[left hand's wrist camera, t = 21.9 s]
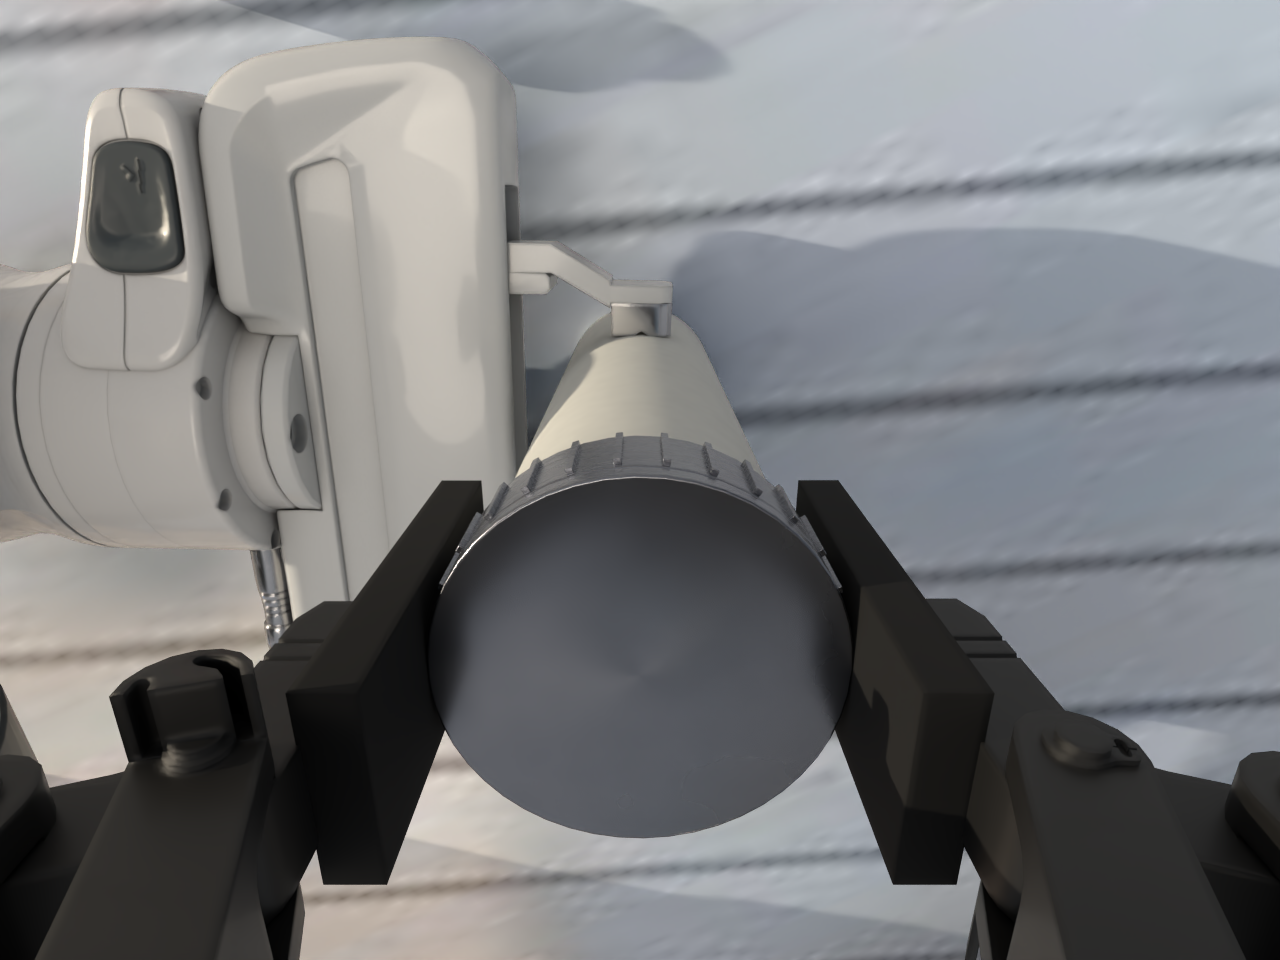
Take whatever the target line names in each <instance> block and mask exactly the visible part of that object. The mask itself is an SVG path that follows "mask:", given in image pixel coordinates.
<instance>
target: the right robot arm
mask: <svg viewBox="0 0 1280 960" xmlns="http://www.w3.org/2000/svg"><path fill="white" fill-rule="evenodd" d="M558 278H560V279H562V280H563V281H565V282H567V283H569V284H570V285H572V286H574V287H575V288H577V289H579V290H580V291H582V292H584V293H585V294H587V295H589V296H591V297H592V298H594V299H596V300H597V301H599V302H601V303H602V304H604V305H606V306H607V307H609V308H610V306H611V336H635V335H637V334H638V333H640V332H641V331H642V332H643V333H645V334H646V335H647V336H655V337H666V336H670V335H671V318H672V295H673V284H672V282H667V281H658V280H613V275H612V274H610V273H608V272H607V271H605V270H603V269H602V268H600V267H599V266H597V265H595V264H594V263H592V262H591V261H589V260H587V259H586V258H584V257H583V256H581V255H579V254H578V253H576V252H575V251H573V250H571V249H570V248H568V247H567V246H565V245H563V244H562V243H560V242H558V241H538V240H521V230H520V200H519V170H518V141H517V112H516V95H515V91H514V88H513V86H512V84H511V83H510V82H509V80H508V79H507V78H506V77H505V75H504V74H503V73H502V72H501V70H500V69H499V68H498V67H497V66H496V65H495V64H494V63H493V62H492V61H491V60H490V59H489V58H488V57H487V56H486V55H485V54H484V53H482V52H481V51H480V50H479V49H477V48H476V47H475V46H473V45H471V44H469V43H467V42H465V41H462V40H458V39H455V38H446V37H392V38H376V39H361V40H351V41H341V42H332V43H324V44H317V45H310V46H303V47H297V48H291V49H285V50H279V51H275V52H271V53H266V54H262V55H259V56H256V57H253V58H250V59H248V60H246V61H244V62H241V63H239V64H237V65H236V66H234V67H233V68H231V69H230V70H228V71H227V72H226V73H224V74H223V75H222V76H221V77H220V78H219V79H218V80H217V81H216V83H215V84H214V85H213V87H212V88H211V89H210V91H209V93H208V95H207V96H206V95H202V94H197V93H192V92H186V91H178V90H169V89H157V88H116V89H109V90H106V91H103V92H101V93H100V94H98V95H97V96H96V97H95V98H94V100H93V102H92V103H91V106H90V109H89V111H88V116H87V120H86V128H85V138H84V153H83V167H82V180H81V192H80V202H79V212H78V222H77V230H76V237H75V245H74V252H73V258H72V264H67V265H64V266H61V267H57V268H54V269H51V270H48V271H44V272H26V271H21V270H18V269H15V268H12V267H9V266H6V265H2V264H0V543H1V542H7V541H11V540H16V539H20V538H23V537H27V536H31V535H35V534H40V533H49V534H56V535H60V536H62V537H65V538H68V539H71V540H74V541H78V542H81V543H85V544H90V545H95V546H103V547H121V548H169V549H223V550H250V553H251V559H252V564H253V570H254V575H255V580H256V584H257V588H258V591H259V594H260V597H261V600H262V603H263V607H264V611H265V618H266V620H265V622H264V629H265V636H266V640H267V644H268V646H269V649H271V647H272V646H273V645H274V644H275V643H278V639H279V638H280V637H281V636H282V634H283V633H284V632H285V631H286V630H287V628H288V627H289V626H290V625H291V624H292V622H293V621H294V620H295V619H296V618H298V617H299V616H301V615H302V614H304V613H306V612H307V611H309V610H310V609H312V608H314V607H315V606H317V605H319V604H320V603H322V602H323V601H354V599H355V598H356V596H357V595H358V594H359V592H360V591H361V590H362V588H363V587H364V586H365V584H366V583H367V581H368V580H369V579H370V577H371V576H372V575H373V573H374V572H375V571H376V569H377V568H378V566H379V565H380V564H381V562H382V561H383V560H384V558H385V557H386V556H387V554H388V553H389V552H390V550H391V549H392V547H393V546H394V545H395V543H396V542H397V541H398V539H399V538H400V537H401V535H402V534H403V532H404V531H405V530H406V528H407V527H408V526H409V524H410V523H411V522H412V520H413V519H414V518H415V516H416V515H417V513H418V512H419V511H420V509H421V508H422V507H423V505H424V504H425V503H426V501H427V500H428V498H429V497H430V496H431V494H432V493H433V492H434V490H435V489H436V488H437V486H438V485H439V483H440V482H441V481H442V480H481V481H482V493H483V506H484V510H485V509H486V508H487V507H488V505H489V504H490V503H491V501H492V499H493V497H494V495H495V493H496V491H497V489H498V487H499V486H500V485H501V484H502V483H503V482H505V483H506V484H507V485H508V484H509V483H510V482H512V481H513V480H514V479H515V477H516V475H517V473H518V470H519V468H520V466H521V464H522V462H523V460H524V458H525V455H526V453H527V451H528V437H527V407H526V377H525V348H524V318H523V294H547V293H548V292H549V291H550V290H551V289H553V288H554V287H555V286H556V285H557V284H558ZM7 754H10V755H20V756H29V757H31V758H32V759H34V760H35V761H36V762H38V761H37V759H36V757H35V755H34V752H33V750H32V748H31V746H30V744H29V742H28V740H27V738H26V736H25V734H24V732H23V730H22V727H21V725H20V723H19V721H18V719H17V717H16V715H15V713H14V711H13V709H12V707H11V705H10V702H9V700H8V698H7V696H6V694H5V692H4V690H3V688H2V686H1V685H0V756H1V755H7Z"/></svg>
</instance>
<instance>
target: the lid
mask: <svg viewBox="0 0 1280 960" xmlns="http://www.w3.org/2000/svg"><path fill="white" fill-rule="evenodd" d="M455 551H456V552H455V554H454V556H453V558H452V560H451V562H450V564H449V565H448V567H447V569H446V571H445V573H444V575H443V576H442V578H441V580H440V582H439V584H438V587H437V589H439V590H441V592H440V594H439V596H438V599H437V601H436V604H435V606H434V610H433V614H432V618H431V622H430V626H429V630H428V642H427V653H426V655H427V669H428V680H429V684H430V689H431V693H432V698H433V702H434V705H435V707H436V710H437V713H438V715H439V718H440V720H441V723H442V725H443V727H444V729H445V730H446V732H447V734H448V736H449V738H450V739H451V741H452V743H453V745H454V746H455V747H456V749H457V750H458V751H459V753H460V754H461V755H462V757H463V758H464V759H465V761H466V762H467V763H468V765H469V766H470V767H471V768H472V769H473V770H474V771H475V772H476V773H477V774H478V775H479V776H480V777H481V778H482V779H483V780H484V781H485V782H486V783H488V784H489V785H490V786H491V787H493V788H494V789H495V790H496V791H498V792H499V793H500V794H501V795H503V796H504V797H506V798H507V799H509V800H510V801H512V802H514V803H515V804H517V805H518V806H520V807H522V808H523V809H525V810H527V811H529V812H531V813H533V814H535V815H537V816H539V817H542V818H544V819H546V820H548V821H551V822H554V823H557V824H560V825H562V826H565V827H568V828H571V829H576V830H580V831H584V832H588V833H592V834H598V835H606V836H613V837H625V838H654V837H669V836H675V835H681V834H687V833H692V832H697V831H700V830H704V829H707V828H711V827H715V826H718V825H721V824H723V823H726V822H728V821H731V820H733V819H736V818H738V817H741V816H743V815H745V814H747V813H749V812H750V811H752V810H754V809H756V808H758V807H760V806H762V805H764V804H765V803H766V802H768V801H769V800H771V799H772V798H774V797H775V796H777V795H778V794H780V793H781V792H783V791H784V790H785V789H786V788H787V787H788V786H790V785H791V784H792V783H793V782H794V781H795V780H796V779H798V778H799V777H800V776H801V775H802V774H803V773H804V772H805V771H806V769H807V768H808V767H809V766H810V765H811V764H812V763H813V762H814V760H815V759H816V758H817V757H818V756H819V754H820V753H821V751H822V750H823V748H824V747H825V745H826V744H827V742H828V741H829V739H830V738H831V736H832V734H833V732H834V730H835V728H836V726H837V724H838V722H839V720H840V718H841V715H842V712H843V709H844V706H845V703H846V700H847V697H848V694H849V689H850V683H851V677H852V671H853V642H852V634H851V627H850V621H849V618H848V614H847V611H846V608H845V605H844V601H843V598H842V596H841V593H844V591H843V588H842V585H841V584H840V582H839V580H838V578H837V576H836V574H835V572H834V571H833V569H832V567H831V565H830V563H829V561H828V559H827V558H826V556H825V555H826V552H825V550H824V548H823V546H822V544H821V543H820V541H819V539H818V537H817V535H816V533H815V532H814V530H813V528H812V526H811V524H810V522H809V521H808V519H807V517H806V516H805V515H804V516H802V517H799V515H798V514H797V512H796V511H795V509H794V508H793V506H792V505H791V503H790V501H789V499H788V497H787V495H786V493H785V491H784V489H783V488H782V487H781V486H780V485H779V484H778V485H777V486H776V487H774V486H773V485H772V484H771V483H769V482H768V481H767V480H766V479H765V478H763V477H762V476H761V475H760V474H759V473H757V472H756V471H754V470H753V467H752V465H751V463H750V462H749V461H747V460H746V459H745V460H744V461H743V462H742V463H741V462H740V461H738V460H737V459H735V458H732V457H730V456H728V455H726V454H723V453H721V452H719V451H717V450H715V449H713V448H712V445H711V443H708V442H704V445H703V446H702V445H699V444H696V443H693V442H689V441H685V440H679V439H673V438H668V433H661V435H660V437H658V436H624V437H623V432H619V433H616V436H615V437H612V438H606V439H601V440H596V441H592V442H587V443H583V444H580V442H579V441H575V442H572V446H571V448H569V449H566V450H563V451H560V452H558V453H556V454H554V455H552V456H550V457H548V458H546V459H544V460H542V461H541V460H540V459H539V457H538V458H536V459H534V460H533V461H532V463H531V466H530V468H529V469H527V470H526V471H525V472H523V473H522V474H520V475H519V476H517V477H516V478H515V479H514V480H513V481H512V482H510V483H509V484H508V485H507V484H506V483H505V482H503V483H502V484H501V485H500V486H499V487H498V489H497V491H496V493H495V495H494V497H493V499H492V501H491V503H490V504H489V505H488V507H487V508H486V509H485V510H484V511H483V513H482V515H481V514H480V513H478V512H477V513H476V514H475V516H474V517H473V519H472V521H471V523H470V524H469V526H468V528H467V530H466V532H465V534H464V536H463V537H462V539H461V541H460V543H459V545H458V547H457V548H456V550H455Z"/></svg>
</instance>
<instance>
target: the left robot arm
mask: <svg viewBox="0 0 1280 960" xmlns="http://www.w3.org/2000/svg"><path fill="white" fill-rule="evenodd" d="M483 511H484V506H483V493H482V481H481V480H442V481H441V482H440V483H439V485H438V486H437V488H436V489H435V490H434V492H433V493H432V494H431V496H430V497H429V498H428V500H427V501H426V503H425V504H424V505H423V507H422V508H421V509H420V511H419V512H418V513H417V515H416V516H415V518H414V519H413V520H412V522H411V523H410V524H409V526H408V527H407V528H406V530H405V531H404V532H403V534H402V535H401V537H400V538H399V539H398V541H397V542H396V543H395V545H394V546H393V547H392V549H391V550H390V552H389V553H388V554H387V556H386V557H385V558H384V560H383V561H382V562H381V564H380V565H379V566H378V568H377V569H376V571H375V572H374V573H373V575H372V576H371V577H370V579H369V580H368V581H367V583H366V584H365V586H364V587H363V588H362V590H361V591H360V592H359V594H358V595H357V596H356V598H355V599H354V601H323V602H322V603H320V604H319V605H317V606H315V607H314V608H312V609H310V610H309V611H307V612H306V613H304V614H302V615H301V616H299V617H298V618H296V619H295V620H294V621H293V622H292V624H291V625H290V626H289V627H288V628H287V630H286V631H285V632H284V633H283V634H282V636H281V637H280V638H279V639H278V643H275V644H274V645H273V646H272V647H271V649H270V650H269V651H268V652H267V653H266V654H265V656H264V660H263V661H260V662H259V663H258V664H257V665H256V666H255V668H254V667H253V662H252V660H250V659H249V658H248V657H246V656H245V655H244V654H242V653H241V652H236V651H231V650H225V649H213V650H198V651H193V652H189V653H185V654H181V655H177V656H172V657H169V658H167V659H164V660H162V661H160V662H157V663H155V664H152V665H150V666H147V667H145V668H143V669H142V670H140V671H139V672H137V673H135V674H134V675H132V676H131V677H129V678H128V679H126V680H124V681H123V682H122V683H121V684H120V685H119V686H118V687H117V689H116V690H115V691H114V692H113V693H112V694H111V695H110V696H109V698H110V701H111V705H112V708H113V711H114V715H115V718H116V721H117V725H118V728H119V731H120V735H121V738H122V741H123V745H124V748H125V752H126V755H127V758H128V762H129V763H128V765H127V767H126V769H125V771H124V772H121V773H117V774H113V775H109V776H104V777H99V778H95V779H90V780H85V781H80V782H76V783H71V784H66V785H61V786H57V787H52V788H49V786H48V783H47V780H46V777H45V774H44V771H43V768H42V766H41V764H39V763H38V762H36V761H35V760H34V759H32V758H31V757H29V756H20V755H10V754H7V755H1V756H0V960H299V957H300V949H301V941H302V933H303V925H304V917H305V910H304V902H303V896H302V891H301V886H300V880H301V878H302V876H303V874H304V872H305V870H306V869H307V867H308V865H309V863H310V861H311V859H312V857H313V855H314V853H315V851H316V850H317V855H318V860H319V865H320V870H321V875H322V880H323V885H387V883H388V880H389V878H390V875H391V872H392V870H393V867H394V864H395V862H396V859H397V856H398V854H399V851H400V848H401V846H402V843H403V840H404V838H405V835H406V832H407V830H408V827H409V824H410V822H411V819H412V816H413V814H414V811H415V808H416V806H417V803H418V800H419V798H420V795H421V792H422V790H423V787H424V784H425V782H426V779H427V776H428V774H429V771H430V768H431V766H432V763H433V760H434V758H435V755H436V752H437V750H438V747H439V745H440V742H441V739H442V737H443V734H444V731H445V729H444V727H443V725H442V723H441V720H440V718H439V715H438V713H437V710H436V707H435V705H434V702H433V698H432V693H431V689H430V684H429V680H428V669H427V655H426V653H427V642H428V630H429V626H430V622H431V618H432V614H433V610H434V606H435V604H436V601H437V599H438V596H439V594H440V592H441V590H439V589H437V587H438V584H439V582H440V580H441V578H442V576H443V575H444V573H445V571H446V569H447V567H448V565H449V564H450V562H451V560H452V558H453V556H454V554H455V552H456V551H455V550H456V548H457V547H458V545H459V543H460V541H461V539H462V537H463V536H464V534H465V532H466V530H467V528H468V526H469V524H470V523H471V521H472V519H473V517H474V516H475V514H476V513H477V512H478V513H480V514H481V515H482V513H483ZM796 512H797V514H798V515H799V517H802V516H804V515H805V516H806V517H807V519H808V521H809V522H810V524H811V526H812V528H813V530H814V532H815V533H816V535H817V537H818V539H819V541H820V543H821V544H822V546H823V548H824V550H825V552H826V555H825V556H826V558H827V559H828V561H829V563H830V565H831V567H832V569H833V571H834V572H835V574H836V576H837V578H838V580H839V582H840V584H841V585H842V588H843V591H844V593H841V596H842V598H843V601H844V605H845V608H846V611H847V614H848V618H849V621H850V627H851V634H852V642H853V671H852V677H851V683H850V689H849V694H848V697H847V700H846V703H845V706H844V709H843V712H842V715H841V718H840V720H839V722H838V724H837V726H836V728H835V731H836V734H837V737H838V739H839V742H840V745H841V747H842V750H843V753H844V755H845V758H846V761H847V763H848V766H849V769H850V771H851V774H852V777H853V779H854V782H855V785H856V787H857V790H858V793H859V795H860V798H861V801H862V803H863V806H864V809H865V811H866V814H867V817H868V819H869V822H870V824H871V827H872V830H873V832H874V835H875V838H876V840H877V843H878V846H879V848H880V851H881V854H882V856H883V859H884V862H885V864H886V867H887V870H888V872H889V875H890V878H891V880H892V883H893V885H957V880H958V875H959V870H960V865H961V860H962V855H963V850H964V847H965V849H966V851H967V853H968V855H969V857H970V859H971V861H972V863H973V865H974V867H975V869H976V871H977V873H978V875H979V877H980V878H981V882H980V886H979V891H978V896H977V900H976V905H975V910H974V914H973V919H972V924H971V928H970V933H969V938H968V942H967V949H966V956H965V960H976V958H977V953H978V949H979V947H980V955H981V960H1280V752H1276V751H1268V752H1258V753H1251V754H1250V755H1248V756H1247V757H1246V758H1244V759H1243V760H1241V761H1240V763H1239V765H1238V768H1237V771H1236V774H1235V777H1234V780H1233V783H1232V785H1230V784H1225V783H1220V782H1216V781H1211V780H1206V779H1201V778H1197V777H1192V776H1187V775H1182V774H1178V773H1173V772H1168V771H1164V770H1161V769H1157V768H1154V766H1153V764H1152V762H1151V760H1150V759H1149V758H1148V756H1147V755H1146V754H1145V753H1144V751H1143V750H1142V749H1141V747H1140V746H1139V745H1138V744H1137V743H1135V742H1134V741H1133V740H1131V739H1130V738H1129V737H1127V736H1126V735H1124V734H1123V733H1122V732H1120V731H1119V730H1118V729H1115V728H1113V727H1111V726H1109V725H1107V724H1105V723H1103V722H1101V721H1098V720H1096V719H1094V718H1091V717H1088V716H1084V715H1080V714H1077V713H1073V712H1069V711H1065V710H1064V709H1063V708H1062V707H1061V705H1060V704H1059V703H1058V702H1057V701H1056V700H1055V698H1054V697H1053V696H1052V695H1051V694H1050V692H1049V691H1048V690H1047V689H1046V688H1045V687H1044V685H1043V684H1042V683H1041V682H1040V681H1039V680H1038V678H1037V677H1036V676H1035V675H1034V674H1033V672H1032V671H1031V670H1030V669H1029V668H1028V667H1027V665H1026V664H1025V663H1024V662H1023V661H1022V660H1021V658H1017V656H1016V652H1015V651H1014V650H1013V649H1012V648H1011V647H1010V645H1009V644H1008V643H1007V642H1006V641H1002V636H1001V635H1000V634H999V632H998V631H997V630H996V629H995V628H994V627H993V625H992V624H991V623H990V622H989V621H988V620H987V618H986V617H985V616H984V615H982V614H980V613H979V612H977V611H975V610H974V609H972V608H971V607H969V606H967V605H966V604H964V603H962V602H961V601H959V600H958V599H925V598H924V596H923V595H922V594H921V592H920V591H919V590H918V588H917V587H916V586H915V584H914V583H913V582H912V580H911V579H910V577H909V576H908V575H907V573H906V572H905V571H904V569H903V568H902V567H901V565H900V564H899V562H898V561H897V560H896V558H895V557H894V556H893V554H892V553H891V552H890V550H889V549H888V547H887V546H886V545H885V543H884V542H883V541H882V539H881V538H880V537H879V535H878V534H877V533H876V531H875V530H874V528H873V527H872V526H871V524H870V523H869V522H868V520H867V519H866V518H865V516H864V515H863V513H862V512H861V511H860V509H859V508H858V507H857V505H856V504H855V503H854V501H853V500H852V499H851V497H850V496H849V494H848V493H847V492H846V490H845V489H844V488H843V486H842V485H841V484H840V482H839V481H838V480H798V493H797V505H796Z"/></svg>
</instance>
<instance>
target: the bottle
mask: <svg viewBox="0 0 1280 960" xmlns="http://www.w3.org/2000/svg"><path fill="white" fill-rule="evenodd" d="M619 432H623V437H624V436H658V437H660V435H661V433H668V438H673V439H679V440H685V441H689V442H693V443H696V444H699V445H702V446H703V445H704V442H708V443H711V445H712V448H713V449H715V450H717V451H719V452H721V453H723V454H726V455H728V456H730V457H732V458H735V459H737V460H738V461H740V462H741V463H742V462H743V461H744V460H745V459H746V460H747V461H749V462H750V463H751V465H752V467H753V470H754V471H756V472H757V473H759V474H760V475H761V476H762V477H763V478H765V477H764V475H763V473H762V471H761V469H760V467H759V464H758V462H757V460H756V458H755V456H754V454H753V452H752V450H751V447H750V445H749V443H748V441H747V439H746V437H745V435H744V432H743V430H742V428H741V426H740V424H739V422H738V420H737V418H736V415H735V413H734V411H733V409H732V407H731V405H730V403H729V400H728V398H727V396H726V394H725V392H724V390H723V388H722V385H721V383H720V381H719V379H718V377H717V375H716V373H715V371H714V368H713V366H712V364H711V362H710V360H709V358H708V356H707V353H706V351H705V349H704V347H703V345H702V343H701V341H700V340H699V338H698V336H697V335H696V334H695V333H694V331H693V330H692V329H691V328H690V327H689V326H688V325H687V324H686V323H685V322H684V321H682V320H681V319H679V318H678V317H677V316H675V315H673V314H672V318H671V335H670V336H666V337H655V336H647V335H646V334H645V333H643V332H642V331H641V332H640V333H638V334H637V335H635V336H611V313H609V314H607V315H605V316H603V317H602V318H600V319H599V320H597V321H596V322H595V323H594V324H593V325H591V326H590V327H589V329H588V330H587V331H586V332H585V333H584V334H583V336H582V337H581V339H580V340H579V342H578V344H577V346H576V348H575V351H574V353H573V355H572V357H571V359H570V361H569V363H568V366H567V368H566V370H565V372H564V374H563V376H562V378H561V381H560V383H559V385H558V387H557V389H556V391H555V393H554V396H553V398H552V400H551V402H550V404H549V406H548V408H547V410H546V413H545V415H544V417H543V419H542V421H541V423H540V425H539V428H538V430H537V432H536V434H535V436H534V438H533V440H532V443H531V445H530V447H529V449H528V451H527V453H526V455H525V458H524V460H523V462H522V464H521V466H520V468H519V470H518V473H517V475H516V477H517V476H519V475H520V474H522V473H523V472H525V471H526V470H527V469H529V468H530V466H531V463H532V461H533V460H534V459H536V458H538V457H539V459H540V460H541V461H542V460H544V459H546V458H548V457H550V456H552V455H554V454H556V453H558V452H560V451H563V450H566V449H569V448H571V446H572V442H575V441H579V442H580V444H583V443H587V442H592V441H596V440H601V439H606V438H612V437H615V436H616V433H619ZM516 477H515V478H516Z"/></svg>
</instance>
